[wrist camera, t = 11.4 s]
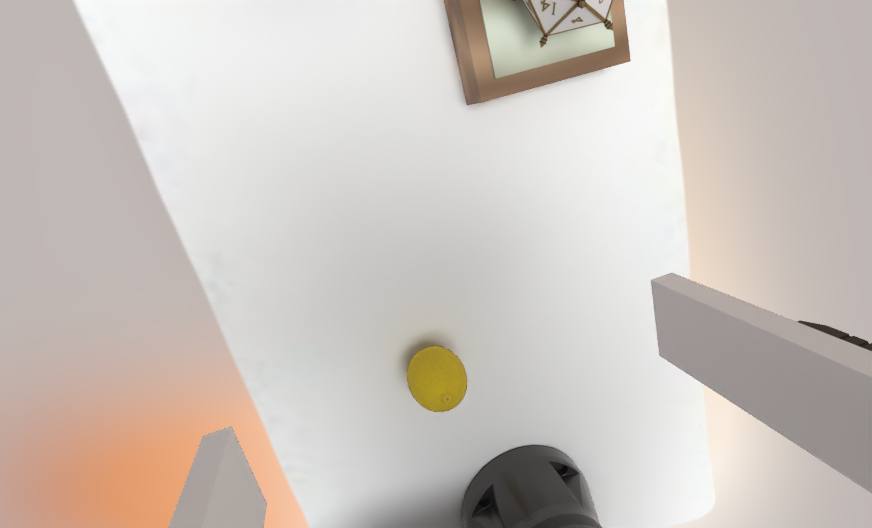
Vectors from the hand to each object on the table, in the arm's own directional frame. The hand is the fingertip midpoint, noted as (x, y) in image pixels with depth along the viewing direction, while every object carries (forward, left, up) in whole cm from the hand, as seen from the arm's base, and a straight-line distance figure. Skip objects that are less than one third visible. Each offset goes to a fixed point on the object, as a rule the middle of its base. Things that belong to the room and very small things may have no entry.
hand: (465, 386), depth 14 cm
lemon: (-16, -2, -32) cm, 36 cm away
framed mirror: (+14, -19, -32) cm, 39 cm away
